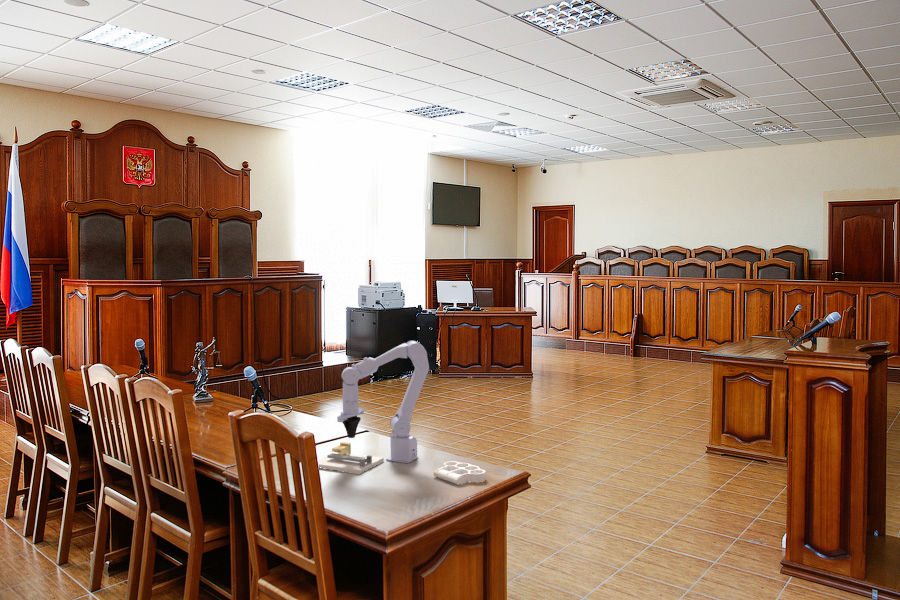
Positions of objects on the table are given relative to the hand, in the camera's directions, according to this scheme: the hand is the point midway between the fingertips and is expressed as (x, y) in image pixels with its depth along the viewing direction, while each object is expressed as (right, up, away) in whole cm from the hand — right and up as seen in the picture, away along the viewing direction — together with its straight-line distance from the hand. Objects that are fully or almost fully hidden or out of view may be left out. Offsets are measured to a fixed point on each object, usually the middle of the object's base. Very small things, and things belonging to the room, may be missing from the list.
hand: (351, 437), depth 240 cm
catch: (-4, -7, +4) cm, 10 cm away
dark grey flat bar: (-1, -7, -4) cm, 8 cm away
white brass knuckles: (+40, -10, -17) cm, 44 cm away
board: (-1, -10, -2) cm, 10 cm away
